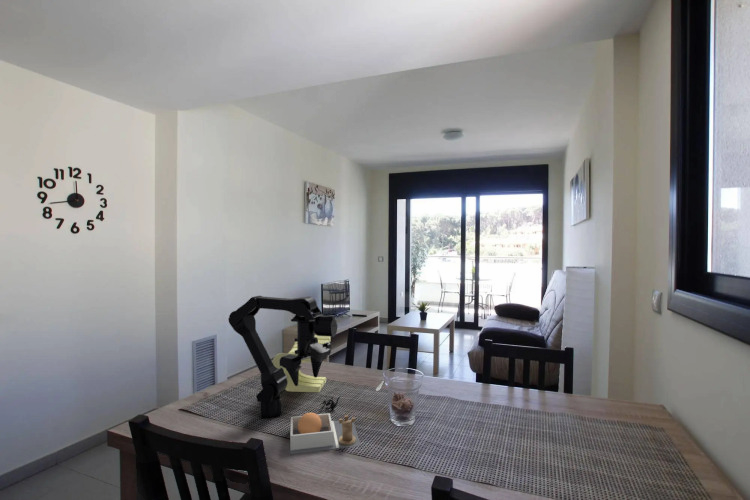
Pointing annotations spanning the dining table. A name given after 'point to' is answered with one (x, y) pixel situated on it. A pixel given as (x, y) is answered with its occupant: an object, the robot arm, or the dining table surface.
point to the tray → (312, 434)
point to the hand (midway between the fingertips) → (306, 381)
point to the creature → (330, 403)
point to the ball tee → (347, 431)
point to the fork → (379, 386)
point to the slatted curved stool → (304, 381)
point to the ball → (309, 423)
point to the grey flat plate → (337, 434)
